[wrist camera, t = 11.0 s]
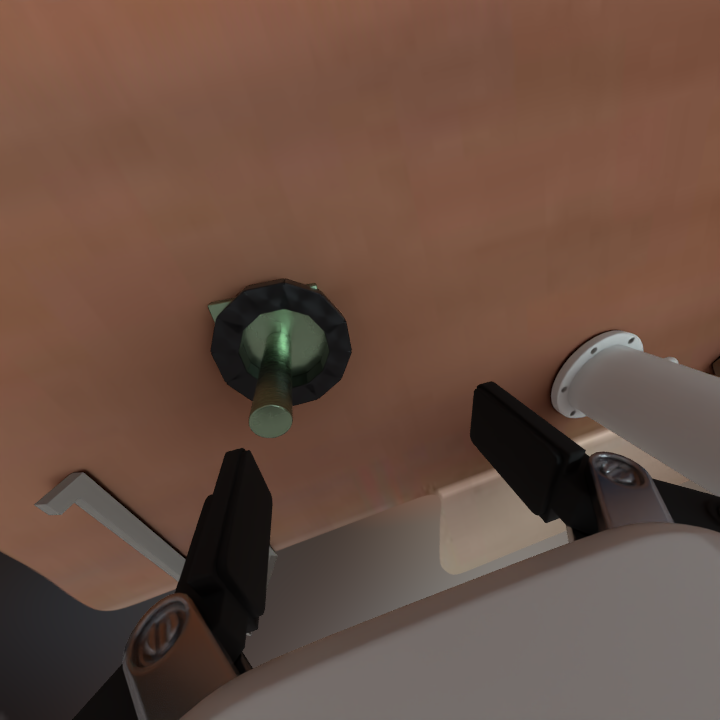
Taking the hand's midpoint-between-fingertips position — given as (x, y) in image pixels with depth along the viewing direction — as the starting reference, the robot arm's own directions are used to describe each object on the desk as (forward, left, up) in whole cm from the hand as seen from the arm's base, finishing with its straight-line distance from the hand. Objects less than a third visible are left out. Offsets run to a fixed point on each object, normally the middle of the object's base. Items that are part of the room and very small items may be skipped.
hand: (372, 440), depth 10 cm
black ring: (+4, 0, -13) cm, 13 cm away
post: (+4, 0, -14) cm, 14 cm away
